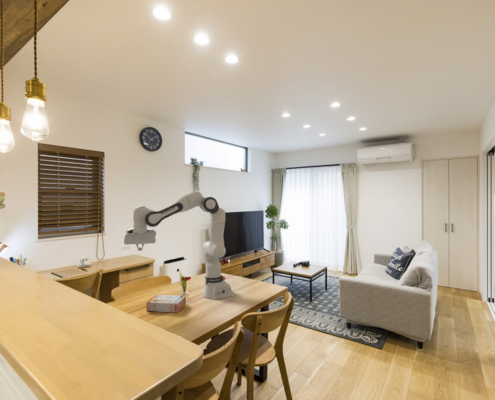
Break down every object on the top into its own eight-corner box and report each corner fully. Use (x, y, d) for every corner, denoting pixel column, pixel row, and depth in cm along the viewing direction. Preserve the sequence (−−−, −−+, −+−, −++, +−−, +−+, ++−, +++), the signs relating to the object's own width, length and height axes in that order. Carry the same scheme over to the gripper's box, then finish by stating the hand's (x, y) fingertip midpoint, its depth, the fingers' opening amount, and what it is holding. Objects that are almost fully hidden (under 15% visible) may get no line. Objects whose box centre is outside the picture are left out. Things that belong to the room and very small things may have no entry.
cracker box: (146, 311, 174) (178, 313, 171) (145, 302, 174) (178, 303, 171) (156, 303, 188) (186, 304, 185) (156, 294, 188) (186, 295, 185)
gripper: (156, 229, 198) (156, 248, 198) (124, 230, 191) (124, 250, 191) (156, 230, 192) (156, 250, 192) (123, 231, 185) (123, 252, 185)
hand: (140, 250), depth 191 cm, fingers closed
